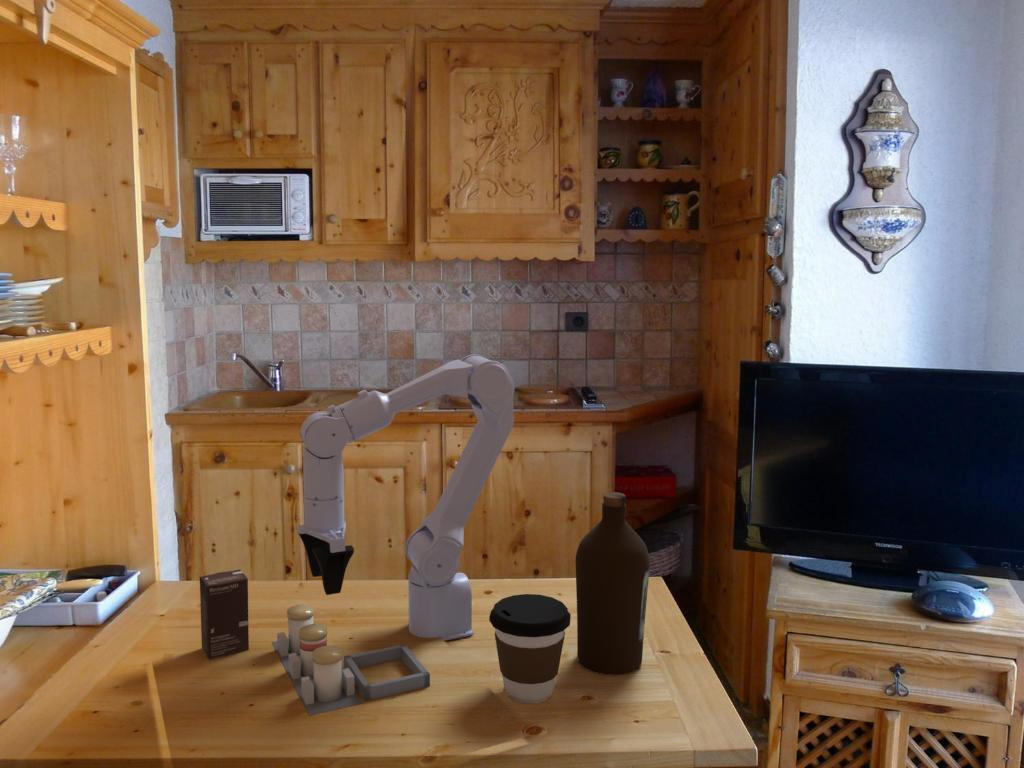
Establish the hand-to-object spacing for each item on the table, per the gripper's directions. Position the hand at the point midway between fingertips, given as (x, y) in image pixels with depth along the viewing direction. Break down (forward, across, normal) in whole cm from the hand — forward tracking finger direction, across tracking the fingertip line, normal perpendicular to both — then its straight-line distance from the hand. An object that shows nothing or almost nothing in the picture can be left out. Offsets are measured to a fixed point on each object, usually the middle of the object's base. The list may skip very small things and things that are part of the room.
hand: (326, 584), depth 128 cm
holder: (+10, +8, -4) cm, 13 cm away
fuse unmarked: (+9, +16, -4) cm, 18 cm away
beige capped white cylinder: (+9, 0, -4) cm, 10 cm away
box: (+10, -4, -14) cm, 18 cm away
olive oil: (+10, +22, +36) cm, 43 cm away
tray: (+10, +14, +4) cm, 18 cm away
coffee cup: (+10, +25, +21) cm, 34 cm away
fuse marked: (+9, +8, -4) cm, 13 cm away
